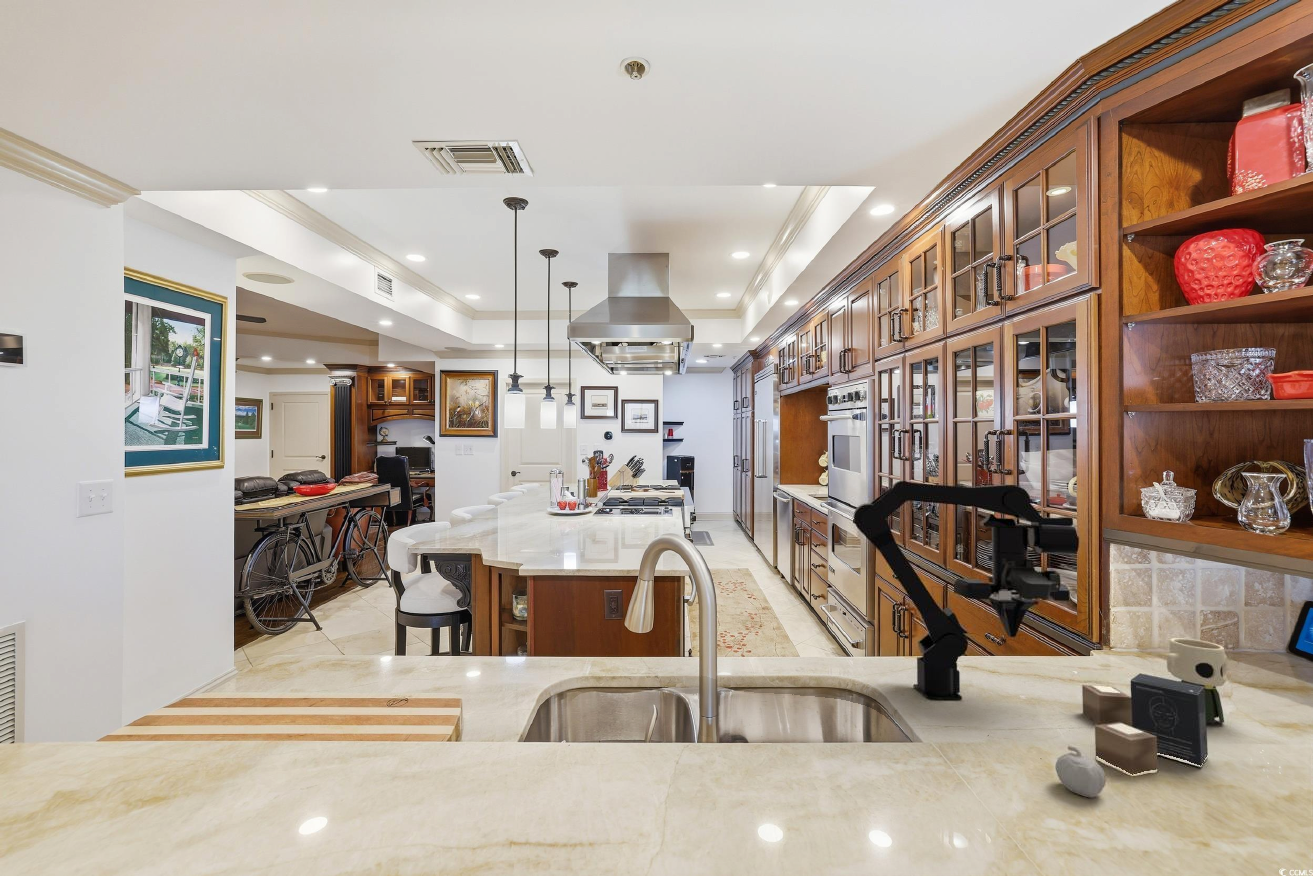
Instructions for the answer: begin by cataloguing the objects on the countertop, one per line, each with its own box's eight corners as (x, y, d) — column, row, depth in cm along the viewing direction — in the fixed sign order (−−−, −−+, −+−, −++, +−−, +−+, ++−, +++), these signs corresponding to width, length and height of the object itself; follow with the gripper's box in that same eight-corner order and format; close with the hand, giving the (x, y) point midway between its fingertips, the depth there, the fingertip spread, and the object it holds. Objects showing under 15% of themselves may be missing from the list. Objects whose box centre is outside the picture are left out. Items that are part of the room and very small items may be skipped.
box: (1208, 758, 86) (1205, 686, 87) (1201, 770, 83) (1198, 694, 84) (1141, 739, 93) (1138, 671, 93) (1132, 749, 89) (1129, 678, 90)
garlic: (1049, 776, 80) (1048, 737, 81) (1095, 784, 78) (1094, 744, 79) (1063, 799, 75) (1062, 757, 75) (1113, 807, 73) (1112, 764, 73)
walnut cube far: (1099, 725, 98) (1098, 693, 98) (1082, 713, 103) (1082, 683, 103) (1132, 728, 97) (1131, 695, 97) (1114, 716, 102) (1113, 685, 102)
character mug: (1190, 728, 97) (1187, 649, 98) (1151, 711, 104) (1148, 637, 105) (1250, 728, 98) (1247, 649, 98) (1207, 710, 105) (1204, 637, 106)
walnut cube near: (1132, 777, 80) (1130, 738, 81) (1095, 760, 85) (1094, 723, 86) (1157, 773, 82) (1156, 734, 82) (1120, 756, 87) (1119, 720, 87)
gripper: (985, 556, 100) (987, 648, 99) (1092, 558, 100) (1094, 650, 99) (951, 548, 111) (952, 631, 110) (1047, 550, 111) (1049, 633, 110)
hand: (1011, 636), depth 107 cm, fingers closed
